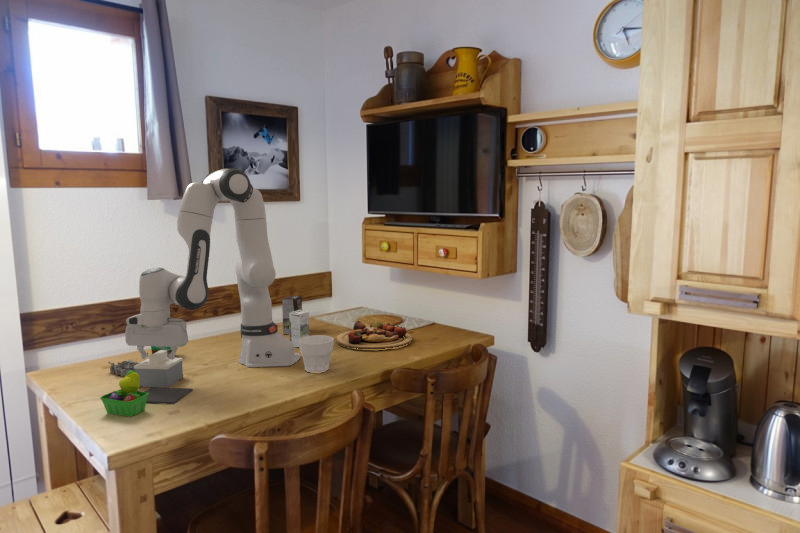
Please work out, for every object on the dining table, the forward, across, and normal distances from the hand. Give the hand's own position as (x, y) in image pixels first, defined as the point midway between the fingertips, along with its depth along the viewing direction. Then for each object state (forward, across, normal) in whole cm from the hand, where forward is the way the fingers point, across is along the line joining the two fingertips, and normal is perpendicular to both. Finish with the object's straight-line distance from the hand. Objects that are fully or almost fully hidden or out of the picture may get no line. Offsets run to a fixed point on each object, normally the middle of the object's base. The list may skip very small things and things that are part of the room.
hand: (158, 358), depth 189 cm
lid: (+2, 0, 0) cm, 2 cm away
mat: (+8, -8, +13) cm, 17 cm away
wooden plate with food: (+8, -63, -58) cm, 86 cm away
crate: (+8, 0, 0) cm, 8 cm away
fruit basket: (+8, -4, +26) cm, 27 cm away
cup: (+8, -49, -17) cm, 53 cm away
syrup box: (+8, -34, -47) cm, 59 cm away
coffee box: (+8, -24, -70) cm, 74 cm away
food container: (+8, +12, -27) cm, 31 cm away
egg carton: (+8, +18, -9) cm, 22 cm away
